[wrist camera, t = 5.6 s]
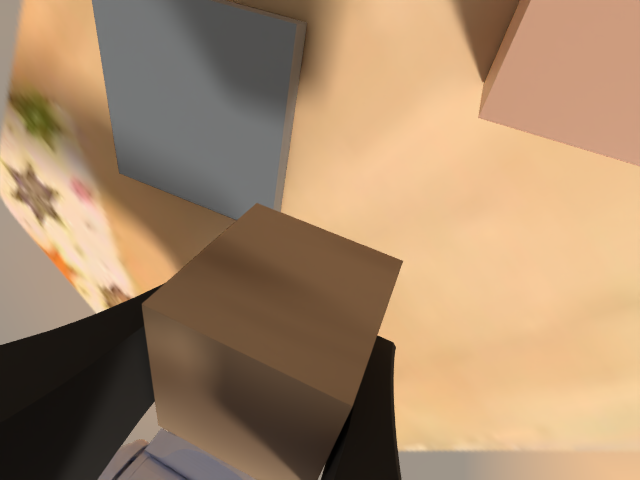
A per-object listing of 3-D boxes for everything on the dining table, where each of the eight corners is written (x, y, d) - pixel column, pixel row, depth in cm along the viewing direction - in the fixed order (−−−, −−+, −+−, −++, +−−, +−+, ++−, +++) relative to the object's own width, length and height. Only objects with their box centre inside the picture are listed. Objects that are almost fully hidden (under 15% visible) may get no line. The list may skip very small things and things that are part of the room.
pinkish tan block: (611, 121, 13) (654, 170, 10) (483, 85, 14) (478, 117, 10) (731, -58, 10) (859, -85, 7) (558, -91, 11) (588, -129, 7)
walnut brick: (356, 366, 13) (304, 506, 10) (244, 314, 14) (158, 425, 10) (403, 261, 10) (352, 406, 7) (256, 203, 11) (141, 304, 7)
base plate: (278, 224, 21) (270, 233, 20) (132, 167, 23) (119, 173, 22) (307, 22, 15) (296, 24, 14) (105, -33, 17) (86, -34, 16)
